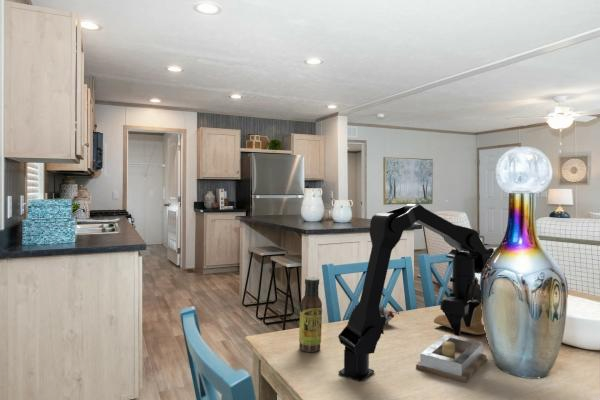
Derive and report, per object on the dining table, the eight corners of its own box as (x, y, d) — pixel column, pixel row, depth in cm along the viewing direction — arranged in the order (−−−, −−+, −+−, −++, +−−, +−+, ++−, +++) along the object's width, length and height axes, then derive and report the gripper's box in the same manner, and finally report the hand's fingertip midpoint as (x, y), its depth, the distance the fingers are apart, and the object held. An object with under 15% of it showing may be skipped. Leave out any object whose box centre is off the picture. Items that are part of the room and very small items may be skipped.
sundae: (353, 309, 133) (399, 308, 131) (352, 303, 139) (396, 302, 138) (354, 328, 133) (400, 328, 131) (353, 322, 139) (397, 321, 138)
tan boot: (495, 332, 128) (496, 285, 128) (477, 340, 121) (478, 290, 120) (451, 320, 140) (452, 277, 140) (432, 327, 132) (433, 281, 132)
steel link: (461, 377, 94) (461, 364, 94) (420, 365, 100) (420, 353, 100) (482, 353, 108) (483, 342, 108) (445, 344, 114) (445, 334, 114)
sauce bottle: (303, 354, 109) (303, 281, 109) (296, 346, 115) (296, 276, 115) (325, 351, 111) (325, 279, 111) (316, 343, 117) (317, 275, 117)
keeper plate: (465, 382, 93) (465, 357, 93) (415, 368, 101) (416, 344, 101) (486, 358, 107) (486, 336, 107) (441, 347, 115) (441, 326, 115)
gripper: (485, 284, 98) (484, 348, 98) (503, 273, 112) (503, 328, 112) (439, 278, 105) (439, 337, 105) (462, 268, 119) (462, 320, 119)
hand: (462, 331), depth 110 cm, fingers open, 9 cm apart
